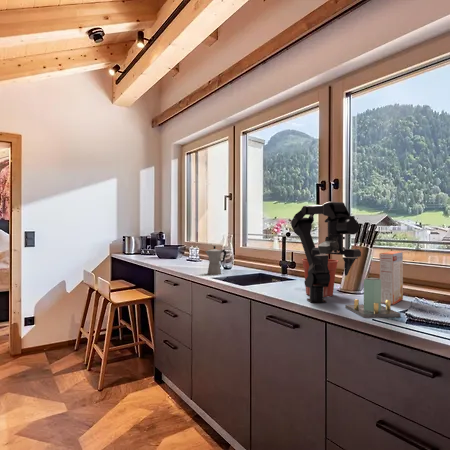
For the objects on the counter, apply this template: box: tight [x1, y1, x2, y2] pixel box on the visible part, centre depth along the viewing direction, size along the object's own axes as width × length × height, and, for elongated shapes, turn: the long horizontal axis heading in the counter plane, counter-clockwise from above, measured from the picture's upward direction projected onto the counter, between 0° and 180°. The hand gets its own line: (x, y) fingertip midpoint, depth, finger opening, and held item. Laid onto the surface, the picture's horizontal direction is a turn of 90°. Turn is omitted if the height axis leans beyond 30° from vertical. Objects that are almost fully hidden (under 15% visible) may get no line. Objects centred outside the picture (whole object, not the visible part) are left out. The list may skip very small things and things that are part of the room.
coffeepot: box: [205, 245, 228, 276], centre depth 241 cm, size 15×9×18 cm, turn 118°
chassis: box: [344, 298, 401, 319], centre depth 137 cm, size 15×14×5 cm
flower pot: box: [301, 258, 339, 298], centre depth 171 cm, size 16×16×16 cm
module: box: [363, 277, 382, 311], centre depth 136 cm, size 4×5×11 cm
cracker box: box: [379, 250, 404, 305], centre depth 157 cm, size 14×6×21 cm, turn 140°
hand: (335, 274), depth 144 cm, fingers open, 9 cm apart
